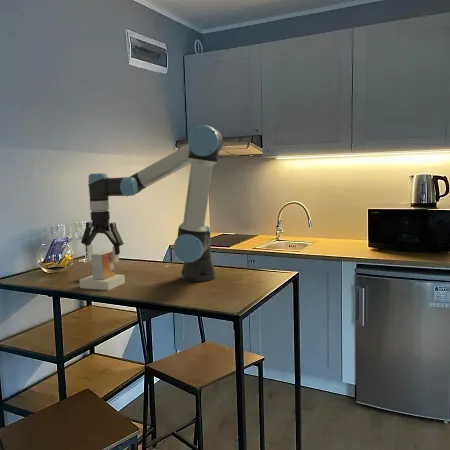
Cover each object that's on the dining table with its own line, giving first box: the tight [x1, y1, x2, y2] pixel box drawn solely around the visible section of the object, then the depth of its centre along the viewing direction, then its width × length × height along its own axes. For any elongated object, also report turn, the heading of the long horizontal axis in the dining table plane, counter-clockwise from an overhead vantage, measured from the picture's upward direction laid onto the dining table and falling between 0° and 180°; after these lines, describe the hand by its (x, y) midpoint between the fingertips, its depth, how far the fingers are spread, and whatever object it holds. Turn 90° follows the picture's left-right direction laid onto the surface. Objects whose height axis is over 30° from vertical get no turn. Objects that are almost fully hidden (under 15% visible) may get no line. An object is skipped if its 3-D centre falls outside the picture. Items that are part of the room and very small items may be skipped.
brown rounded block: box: [87, 262, 93, 276], centre depth 203 cm, size 7×7×7 cm
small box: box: [91, 250, 116, 279], centre depth 191 cm, size 8×6×10 cm
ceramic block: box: [79, 273, 126, 291], centre depth 192 cm, size 14×12×4 cm
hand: (103, 261), depth 191 cm, fingers open, 13 cm apart
